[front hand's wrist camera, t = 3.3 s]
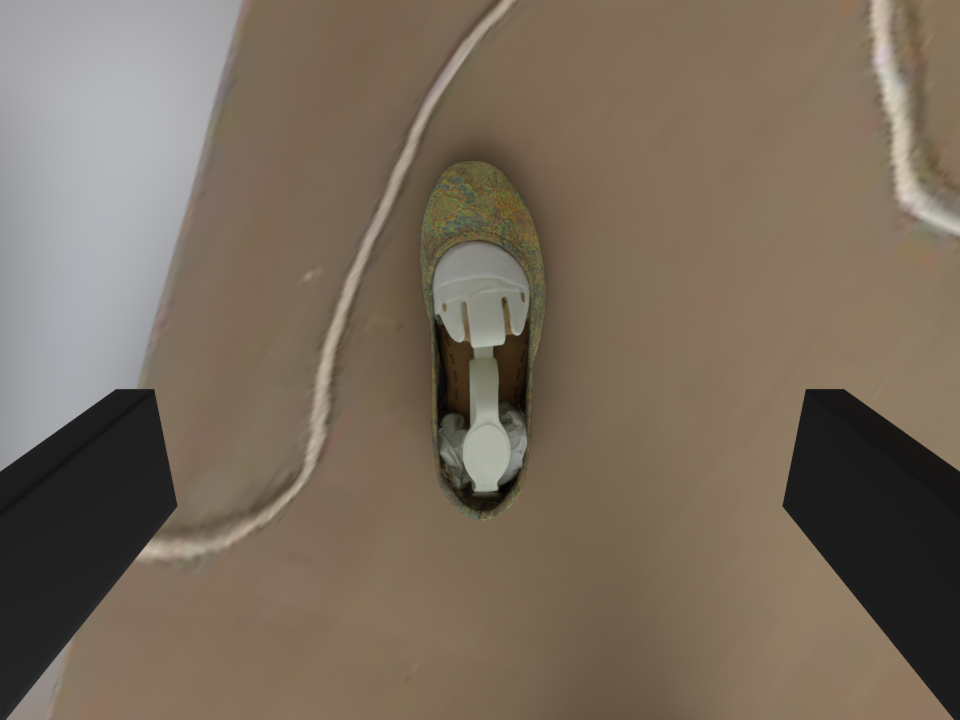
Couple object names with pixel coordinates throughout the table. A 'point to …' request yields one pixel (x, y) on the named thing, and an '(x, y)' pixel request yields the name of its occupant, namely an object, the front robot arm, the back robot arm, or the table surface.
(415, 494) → the table surface
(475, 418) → the ballet flat
